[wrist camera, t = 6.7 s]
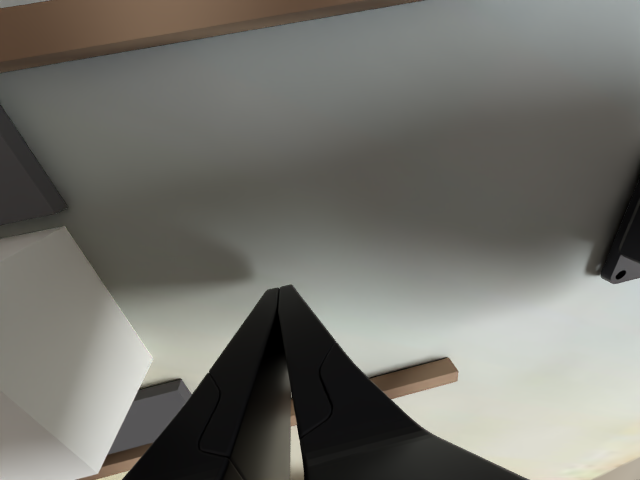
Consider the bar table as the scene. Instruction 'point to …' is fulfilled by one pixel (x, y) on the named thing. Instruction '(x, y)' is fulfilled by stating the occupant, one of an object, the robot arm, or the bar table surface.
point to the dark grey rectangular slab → (43, 199)
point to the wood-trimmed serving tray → (160, 29)
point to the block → (60, 360)
